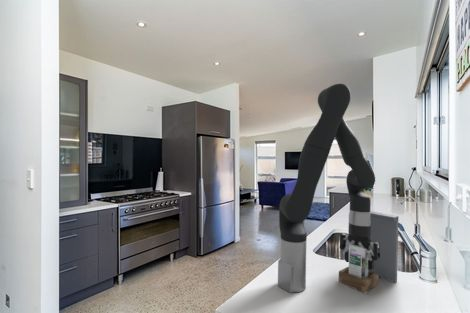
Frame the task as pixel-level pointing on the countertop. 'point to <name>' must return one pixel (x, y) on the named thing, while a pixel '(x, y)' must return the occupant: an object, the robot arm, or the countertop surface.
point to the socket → (359, 280)
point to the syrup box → (358, 261)
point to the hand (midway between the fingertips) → (358, 265)
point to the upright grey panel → (385, 244)
